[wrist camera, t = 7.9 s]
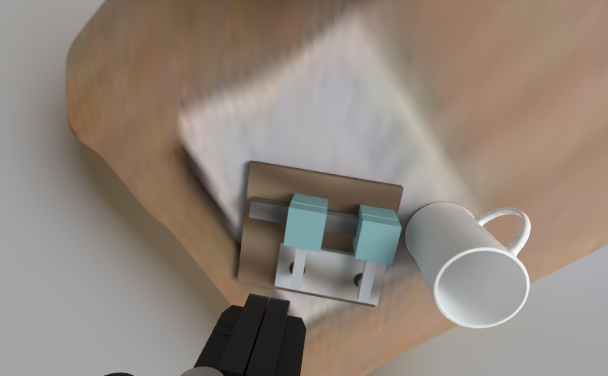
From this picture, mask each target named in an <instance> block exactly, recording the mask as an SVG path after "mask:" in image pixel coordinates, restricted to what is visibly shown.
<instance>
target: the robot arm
mask: <svg viewBox="0 0 608 376" xmlns="http://www.w3.org/2000/svg"><path fill="white" fill-rule="evenodd" d="M289 305H290V301H288V300H282V299H277V298H272V297H271V298H270V301H269V297H266V296H260V295H255V294H249V296H248V298H247V301H246V303H245V305H244V307H240V306H235V305H232V306H231V307H229V308H228V309H227V310H225V311H224V312H223V313H222V314H221V316H220V318H219V320H218V322H217V324H216V326H215V327H214V329H213V332H212V334H211V335H210V337H209V339H208V341H207V343H206V345H205V347H204V348H203V350H202V352H201V354H200V356H199V358H198V360H197V362H196V364H195V366H194V368H193V369H190V370H188V371H186V372H185V373H183V374H182V375H181V376H300V372H301V365H302V357H303V349H304V341H305V334H306V327H305V325H304V322H303V320H302V318H299V317H294V316H288V312H289ZM105 376H133V375H131V374H128V373H112V374H108V375H105Z"/></svg>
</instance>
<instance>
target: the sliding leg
mask: <svg viewBox="0 0 608 376" xmlns="http://www.w3.org/2000/svg"><path fill="white" fill-rule="evenodd" d="M327 208H328V199H326V198H320V197H314V196H309V195H303V194H297V193H295V194H294V196H293V198H292V201H291V204H290V206H289V210H288V217H287V224H286V231H285V238H284V245H283V246H289V247H294V248H296V254H295V260H294V267H293V273H292V279H291V286H290V288H291V289H297V290H301V284H302V278H303V272H304V266H305V260H306V254H307V250H311V251H317V252H320V249H321V244H322V238H323V233H324V227H325V222H326V216H327Z"/></svg>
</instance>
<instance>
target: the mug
mask: <svg viewBox="0 0 608 376" xmlns="http://www.w3.org/2000/svg"><path fill="white" fill-rule="evenodd" d="M505 214H515V215H518V216H520V217H521V220H522V225H521V229H520V231H519V233H518V235H517V236H516V238H515V239H514V240H513V241H512V242H511V243H510V244H509V245H507V246H506V247H504V246H503V245H502V244H501V243H500V242H499V241H498V240H496V239H495V238H494V237H493V236H492V235H491V234H490V233H489V232H488V231H487V230H485V229H484V228H483V227H482V226H483V225H484V224H485V223H486V222H487V221H489V220H491V219H493V218H495V217H498V216H501V215H505ZM530 229H531V226H530V221H529V219H528V217H527V216H526V215H525V214H524V213H523V212H522V211H520V210H519V209H516V208H512V207H503V208H498V209H494V210H491V211H489V212H486V213H484V214H482V215H481V216H479V217H477V218H474V217H473V215H472V214H471V213H470V212H469V211H468V210H467V209H465V208H464V207H462V206H460V205H458V204H455V203H450V202H437V203H433V204H429V205H427V206H425V207H423V208H421V209H420V210H419V211H417V212H416V213H415V214H414V215H413V216H412V218H411V219H410V221H409V222H408V224H407V227H406V231H405V243H406V246H407V249H408V251H409V252H410V254H411V255H412V256H413V258H414V259H415V261H416V263H417V265H418V267H419V269H420V271H421V273H422V276H423V278H424V280H425V282H426V284H427V286H428V288H429V290H430V292H431V294H432V297H433V299H434V301H435V303H436V305H437V307H438V308H439V310H440V311H441V313H442V314H443V315H444V316H445V317H446V318H448V319H449V320H451V321H452V322H454V323H456V324H458V325H461V326H465V327H469V328H487V327H491V326H495V325H498V324H501V323H503V322H505V321H506V320H508V319H510V318H511V317H512V316H514V315H515V314H516V313H517V312H518V311H519V310H520V309H521V307H522V306H523V305H524V303H525V301H526V299H527V296H528V293H529V277H528V274H527V271H526V269H525V267H524V266H523V264H522V263H521V262H520V261H519V260H518V259H517V258H516V256H517V254H518V252H519V251H520V250H521V249H522V247H523V246H524V244H525V243H526V241H527V239H528V237H529V234H530Z"/></svg>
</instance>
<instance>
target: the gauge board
mask: <svg viewBox="0 0 608 376" xmlns="http://www.w3.org/2000/svg"><path fill="white" fill-rule="evenodd" d="M295 193H297V194H303V195H309V196H314V197H320V198H326V199H328V208H327V216H326V222H325V227H324V233H323V238H322V244H321V249H320V252H317V251H311V250H307V254H306V260H305V266H304V272H303V278H302V284H301V290H297V289H291V288H290V286H291V279H292V273H293V267H294V260H295V254H296V248H294V247H289V246H283V245H284V238H285V231H286V224H287V217H288V210H289V206H290V204H291V201H292V198H293V196H294V194H295ZM402 193H403V187H402V186H400V185H394V184H388V183H382V182H376V181H370V180H364V179H358V178H353V177H347V176H341V175H335V174H329V173H323V172H317V171H311V170H305V169H299V168H293V167H287V166H281V165H275V164H269V163H263V162H257V161H252V162H250V169H249V178H248V188H247V197H246V206H245V215H244V225H243V234H242V243H241V253H240V262H239V271H238V281H237V282H242V283H247V284H253V285H258V286H263V287H269V288H274V289H280V290H285V291H290V292H296V293H301V294H306V295H312V296H317V297H323V298H328V299H333V300H339V301H344V302H349V303H355V304H360V305H366V306H371V307H375V305H377V304H378V300H379V296H380V292H381V288H382V284H383V280H384V275H385V271H386V267H387V264H384V263H377V268H376V272H375V276H374V280H373V285H372V289H371V293H370V297H369V302H368V303H367V302H361V301H358V299H357V296H358V291H359V286H358V280H359V279H360V278H362V273H363V269H364V264H365V260H361V259H356V258H355V254H354V247H353V236H356V232H357V228H358V223H359V213H358V212H359V207H360V204H361V205H367V206H373V207H378V208H384V209H390V210H394V211H395V213H396V215H397V213H398V209H399V205H400V201H401V197H402Z"/></svg>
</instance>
